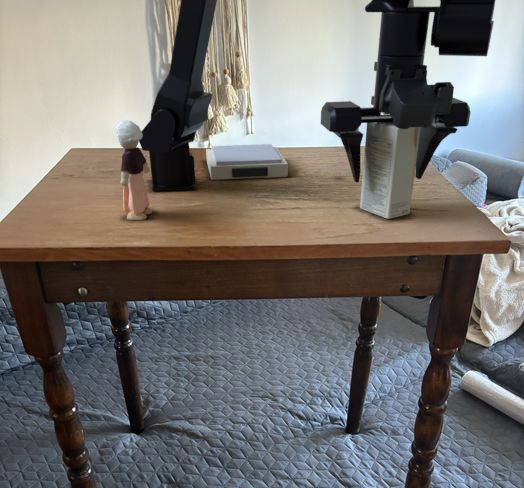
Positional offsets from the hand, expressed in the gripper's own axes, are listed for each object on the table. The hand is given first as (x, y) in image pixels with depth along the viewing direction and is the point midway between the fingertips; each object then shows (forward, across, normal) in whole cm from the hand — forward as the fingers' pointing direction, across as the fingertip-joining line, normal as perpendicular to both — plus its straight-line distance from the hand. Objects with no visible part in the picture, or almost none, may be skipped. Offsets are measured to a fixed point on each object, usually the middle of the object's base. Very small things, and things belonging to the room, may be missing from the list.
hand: (387, 180), depth 78 cm
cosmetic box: (+5, 0, 0) cm, 5 cm away
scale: (+4, -17, +25) cm, 31 cm away
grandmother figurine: (+4, -35, +3) cm, 35 cm away
